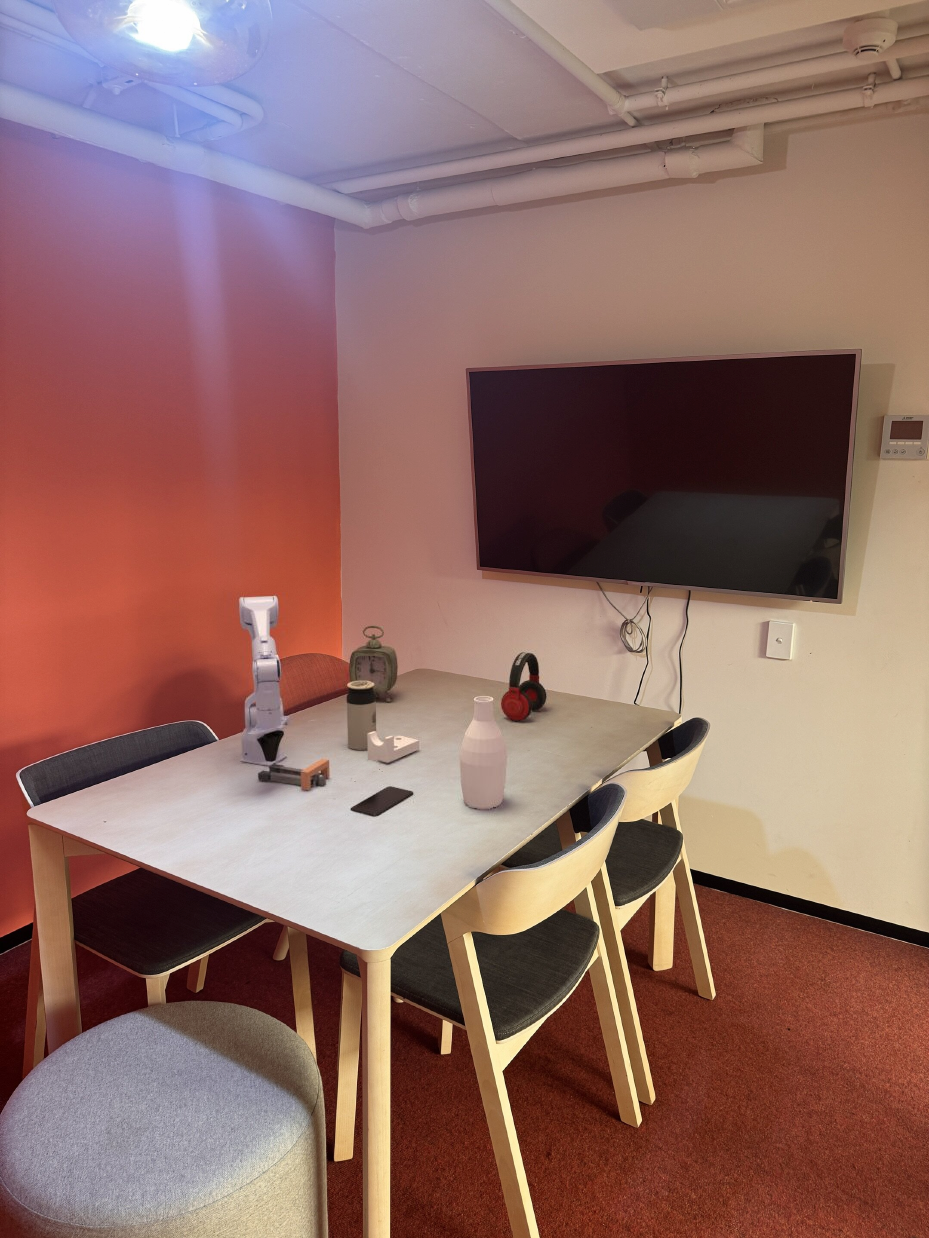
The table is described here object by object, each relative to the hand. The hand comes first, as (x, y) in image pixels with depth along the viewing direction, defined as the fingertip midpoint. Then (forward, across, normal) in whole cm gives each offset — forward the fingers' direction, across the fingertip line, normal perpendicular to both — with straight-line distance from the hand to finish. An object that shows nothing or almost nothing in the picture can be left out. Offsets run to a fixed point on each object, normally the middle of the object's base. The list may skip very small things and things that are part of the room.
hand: (270, 760), depth 212 cm
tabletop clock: (+8, +77, +14) cm, 79 cm away
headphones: (+8, +80, -37) cm, 89 cm away
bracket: (+8, +32, -17) cm, 37 cm away
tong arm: (+7, +4, -2) cm, 8 cm away
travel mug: (+7, +35, -5) cm, 37 cm away
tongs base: (+7, +7, -3) cm, 10 cm away
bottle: (+7, +12, -51) cm, 53 cm away
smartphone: (+8, +3, -29) cm, 30 cm away
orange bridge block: (+7, +6, -9) cm, 13 cm away
